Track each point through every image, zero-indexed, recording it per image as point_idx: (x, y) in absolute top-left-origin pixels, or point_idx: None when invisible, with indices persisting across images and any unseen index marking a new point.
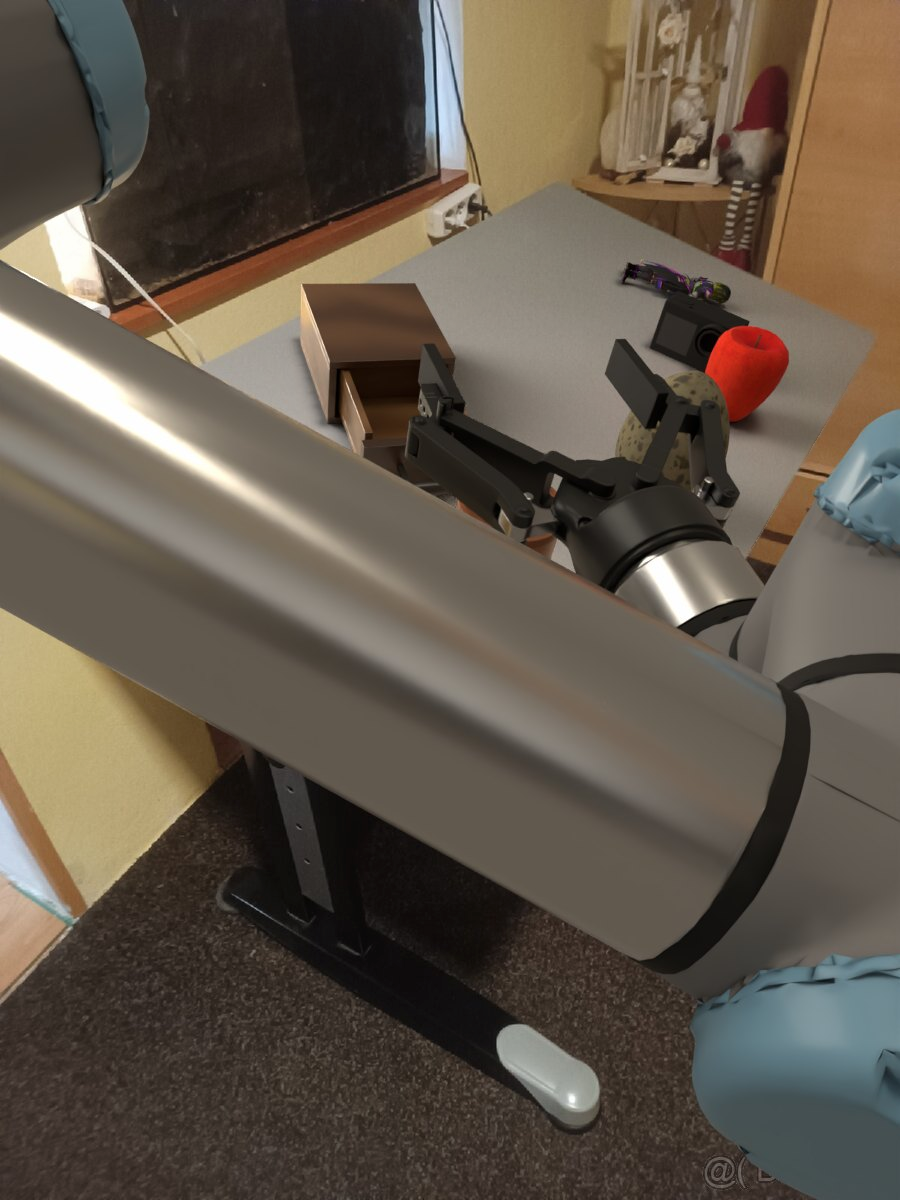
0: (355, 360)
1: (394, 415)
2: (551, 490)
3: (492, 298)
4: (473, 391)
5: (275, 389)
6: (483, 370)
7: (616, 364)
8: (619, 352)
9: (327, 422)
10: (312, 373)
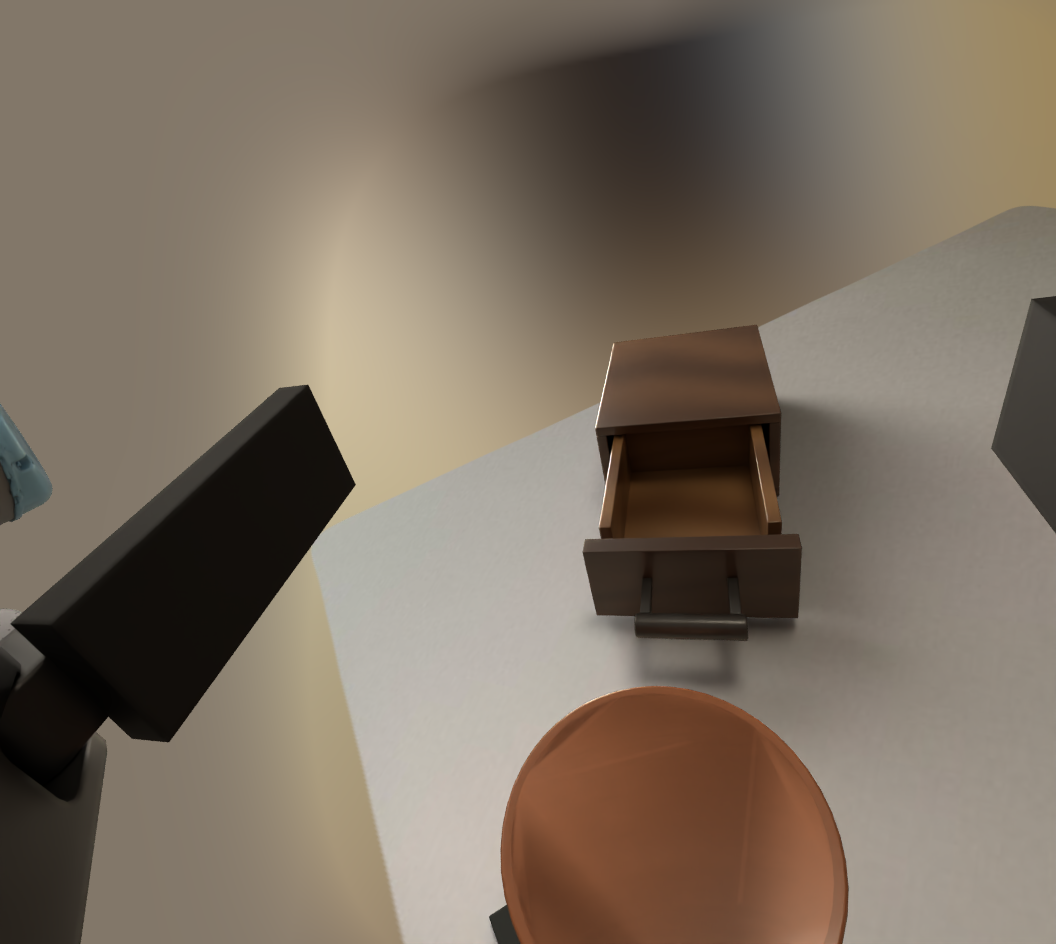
0: (629, 424)
1: (690, 494)
2: (810, 800)
3: (894, 335)
4: (834, 456)
5: (570, 459)
6: (858, 426)
7: (1041, 409)
8: (1054, 353)
9: None
10: None
